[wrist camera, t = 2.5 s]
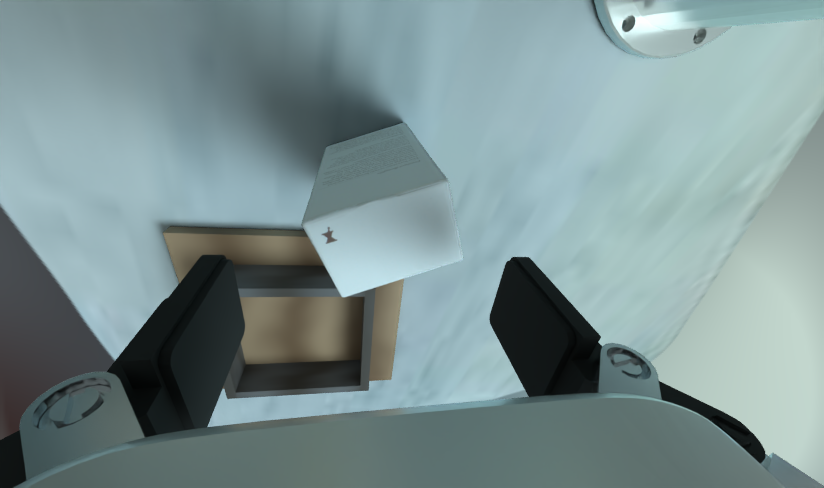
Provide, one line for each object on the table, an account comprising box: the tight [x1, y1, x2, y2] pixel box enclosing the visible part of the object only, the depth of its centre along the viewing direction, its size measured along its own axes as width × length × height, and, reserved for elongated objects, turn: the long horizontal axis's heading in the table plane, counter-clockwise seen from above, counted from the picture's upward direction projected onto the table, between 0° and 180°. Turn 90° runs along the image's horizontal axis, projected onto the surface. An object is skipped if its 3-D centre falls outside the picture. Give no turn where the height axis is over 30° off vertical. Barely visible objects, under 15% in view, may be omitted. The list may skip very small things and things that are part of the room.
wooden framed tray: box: [163, 226, 404, 399], centre depth 28 cm, size 18×18×4 cm
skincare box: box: [301, 123, 463, 297], centre depth 18 cm, size 6×4×12 cm
